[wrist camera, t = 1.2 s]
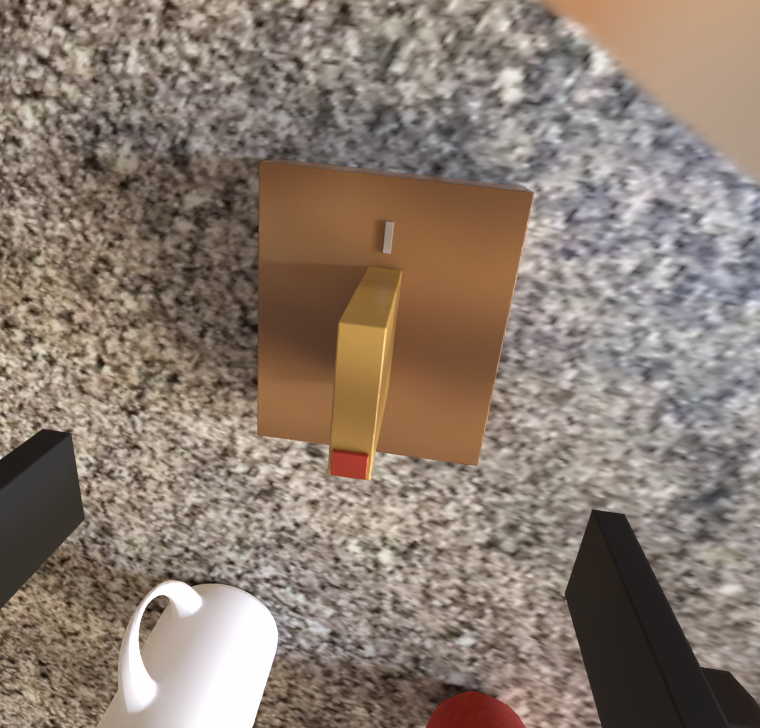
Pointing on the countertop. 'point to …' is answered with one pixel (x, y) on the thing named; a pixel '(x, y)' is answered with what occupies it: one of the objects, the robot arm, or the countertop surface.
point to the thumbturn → (363, 372)
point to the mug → (195, 661)
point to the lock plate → (416, 300)
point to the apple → (474, 713)
